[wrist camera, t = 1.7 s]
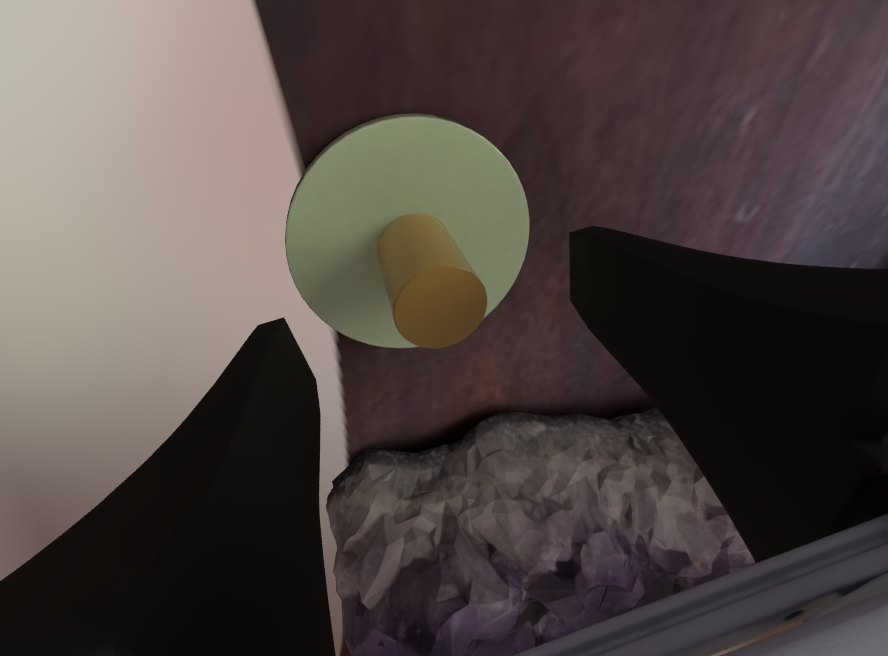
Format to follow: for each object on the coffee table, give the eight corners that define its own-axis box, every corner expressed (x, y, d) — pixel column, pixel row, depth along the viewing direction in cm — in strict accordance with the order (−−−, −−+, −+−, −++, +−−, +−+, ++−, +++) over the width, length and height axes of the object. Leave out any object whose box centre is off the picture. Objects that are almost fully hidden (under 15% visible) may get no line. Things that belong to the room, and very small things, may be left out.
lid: (525, 297, 17) (583, 373, 13) (335, 355, 16) (342, 451, 13) (505, 79, 12) (586, 104, 9) (241, 149, 12) (209, 207, 8)
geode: (330, 568, 25) (327, 822, 16) (323, 398, 20) (312, 634, 11) (644, 523, 29) (775, 702, 21) (704, 377, 24) (911, 531, 15)
